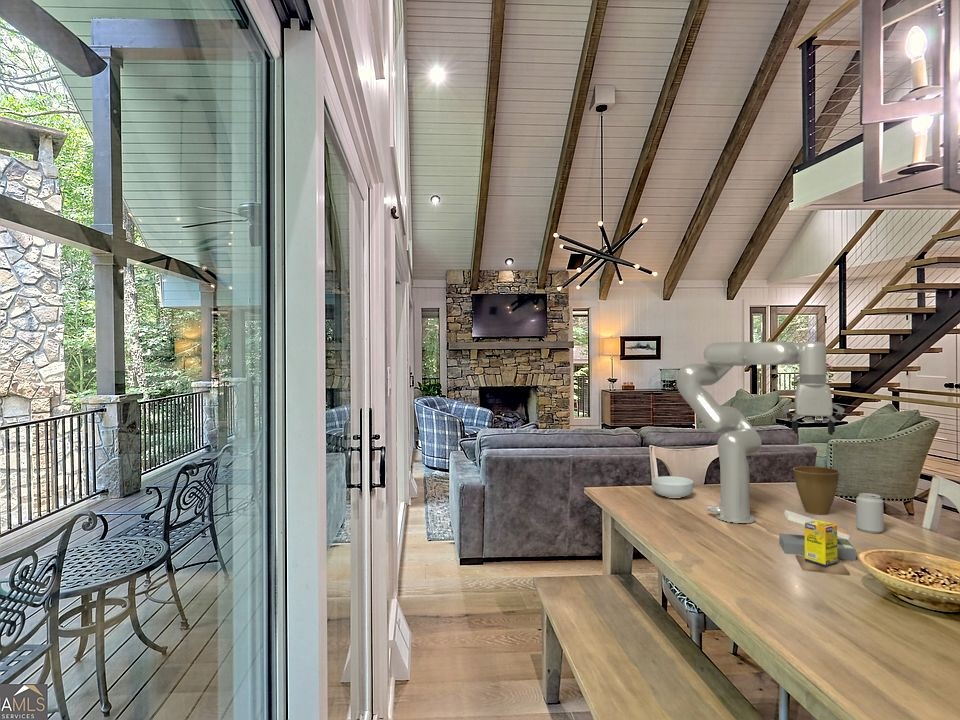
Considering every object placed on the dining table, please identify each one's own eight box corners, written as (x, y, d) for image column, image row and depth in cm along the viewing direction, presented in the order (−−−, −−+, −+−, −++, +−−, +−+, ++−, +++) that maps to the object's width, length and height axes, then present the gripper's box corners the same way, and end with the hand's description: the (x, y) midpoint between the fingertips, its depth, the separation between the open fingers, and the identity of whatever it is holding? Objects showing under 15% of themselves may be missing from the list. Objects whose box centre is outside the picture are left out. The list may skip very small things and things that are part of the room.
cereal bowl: (647, 492, 245) (647, 475, 245) (685, 492, 244) (685, 475, 244) (658, 501, 228) (658, 484, 228) (699, 502, 227) (699, 484, 227)
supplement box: (825, 567, 153) (825, 527, 153) (804, 561, 158) (803, 522, 158) (838, 564, 156) (838, 524, 156) (816, 557, 161) (816, 519, 161)
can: (888, 534, 183) (887, 497, 183) (862, 533, 185) (862, 496, 185) (877, 528, 191) (876, 492, 191) (852, 526, 192) (852, 491, 192)
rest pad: (802, 570, 153) (802, 567, 153) (795, 556, 163) (795, 554, 163) (849, 575, 149) (849, 573, 149) (839, 561, 159) (839, 559, 159)
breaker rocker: (787, 519, 167) (789, 514, 167) (784, 513, 174) (785, 509, 174) (848, 539, 162) (849, 535, 162) (842, 532, 169) (843, 528, 168)
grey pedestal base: (784, 553, 166) (784, 530, 166) (779, 542, 176) (779, 521, 176) (855, 560, 160) (855, 536, 160) (846, 549, 169) (846, 526, 169)
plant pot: (813, 505, 220) (813, 464, 220) (849, 515, 206) (849, 471, 206) (784, 509, 215) (783, 467, 215) (818, 519, 201) (818, 474, 201)
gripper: (784, 380, 180) (784, 434, 180) (847, 381, 174) (847, 436, 174) (780, 379, 187) (780, 431, 187) (841, 380, 181) (841, 433, 181)
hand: (813, 433), depth 180 cm, fingers open, 9 cm apart
